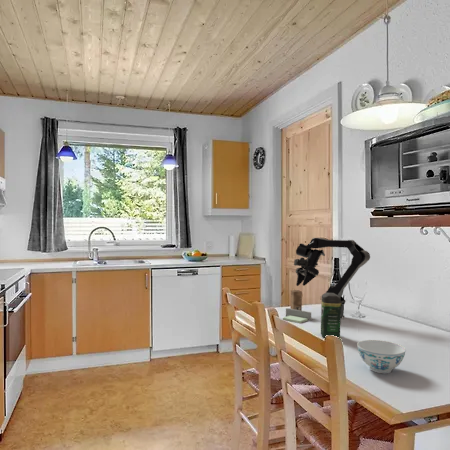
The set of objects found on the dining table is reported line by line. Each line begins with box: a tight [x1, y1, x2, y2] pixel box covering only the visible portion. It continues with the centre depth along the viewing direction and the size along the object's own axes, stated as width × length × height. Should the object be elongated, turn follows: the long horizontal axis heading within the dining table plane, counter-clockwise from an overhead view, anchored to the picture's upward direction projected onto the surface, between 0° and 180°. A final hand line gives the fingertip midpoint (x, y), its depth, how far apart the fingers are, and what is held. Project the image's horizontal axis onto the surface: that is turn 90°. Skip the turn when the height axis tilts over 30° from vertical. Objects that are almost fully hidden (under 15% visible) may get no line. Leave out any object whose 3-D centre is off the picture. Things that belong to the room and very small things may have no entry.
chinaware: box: [356, 339, 407, 374], centre depth 134 cm, size 15×15×8 cm
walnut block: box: [289, 289, 303, 311], centre depth 211 cm, size 4×5×13 cm
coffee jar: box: [320, 292, 342, 338], centre depth 172 cm, size 10×8×19 cm
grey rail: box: [285, 307, 312, 322], centre depth 205 cm, size 14×1×4 cm, turn 50°
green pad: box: [282, 315, 308, 324], centre depth 200 cm, size 10×7×1 cm
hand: (300, 285), depth 213 cm, fingers open, 9 cm apart
